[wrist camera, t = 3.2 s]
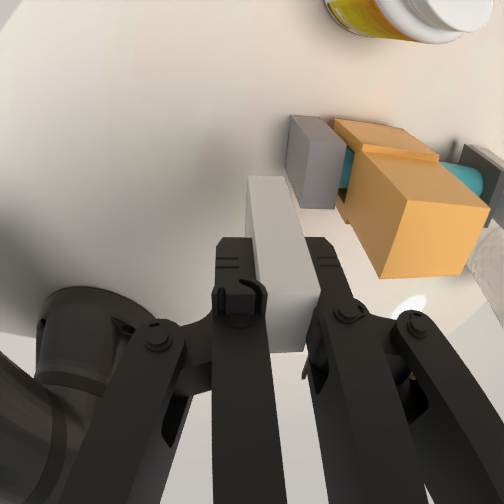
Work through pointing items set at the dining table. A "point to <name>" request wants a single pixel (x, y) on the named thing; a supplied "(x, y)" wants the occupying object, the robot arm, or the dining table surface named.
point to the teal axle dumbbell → (341, 160)
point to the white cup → (490, 267)
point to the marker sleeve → (406, 204)
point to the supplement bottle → (412, 18)
